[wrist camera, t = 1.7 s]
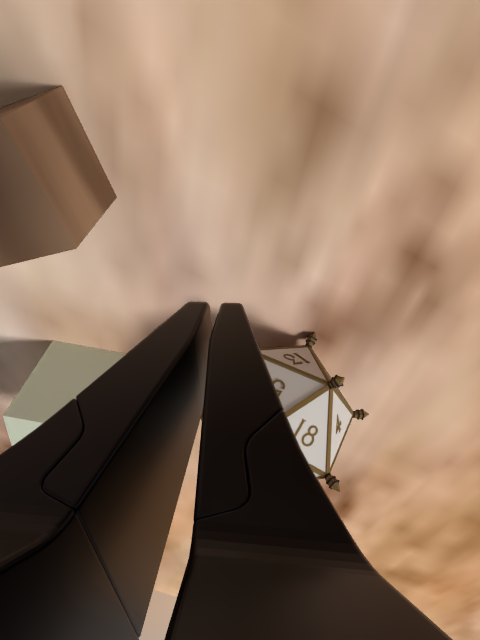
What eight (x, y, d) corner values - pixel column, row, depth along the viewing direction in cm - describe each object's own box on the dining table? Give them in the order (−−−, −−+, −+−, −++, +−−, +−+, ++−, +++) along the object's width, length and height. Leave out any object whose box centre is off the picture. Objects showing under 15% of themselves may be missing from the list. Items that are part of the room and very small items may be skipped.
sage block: (132, 354, 28) (98, 432, 23) (133, 406, 31) (103, 485, 27) (53, 339, 28) (3, 415, 23) (62, 393, 31) (19, 470, 27)
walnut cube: (63, 85, 19) (0, 118, 15) (117, 196, 22) (76, 248, 18) (-32, 119, 20) (-113, 157, 16) (30, 220, 23) (-25, 273, 19)
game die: (313, 317, 29) (434, 430, 23) (237, 414, 32) (329, 542, 25) (220, 273, 23) (354, 415, 16) (132, 399, 25) (221, 567, 19)
